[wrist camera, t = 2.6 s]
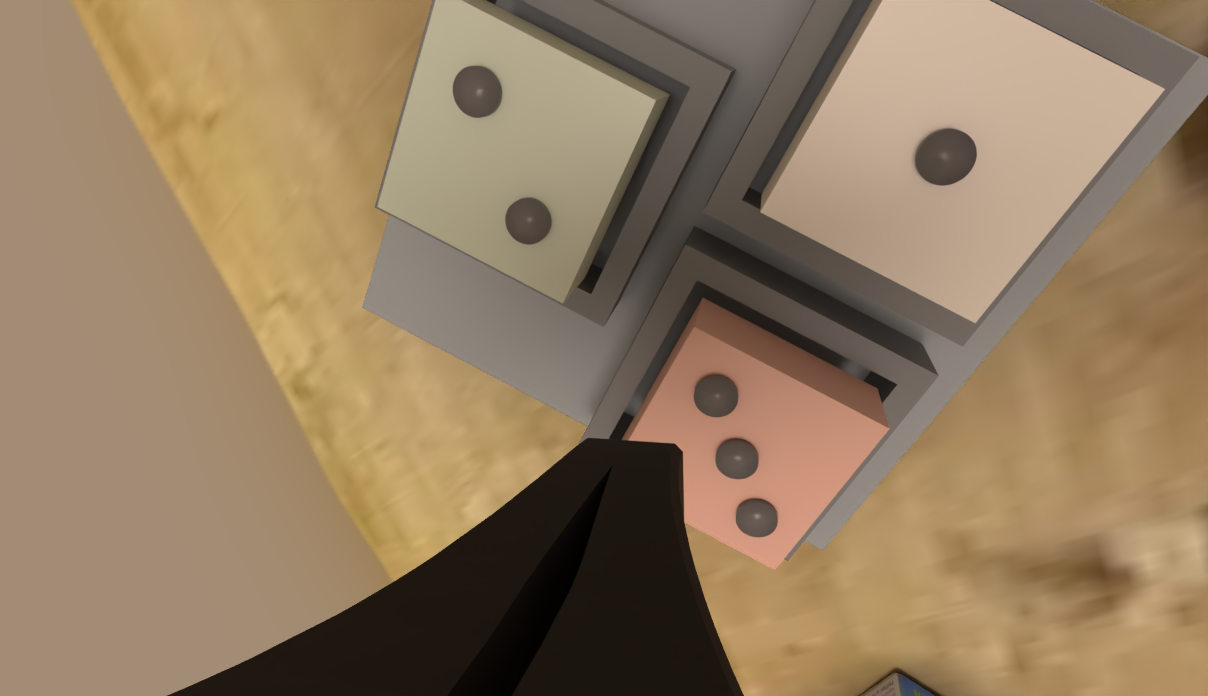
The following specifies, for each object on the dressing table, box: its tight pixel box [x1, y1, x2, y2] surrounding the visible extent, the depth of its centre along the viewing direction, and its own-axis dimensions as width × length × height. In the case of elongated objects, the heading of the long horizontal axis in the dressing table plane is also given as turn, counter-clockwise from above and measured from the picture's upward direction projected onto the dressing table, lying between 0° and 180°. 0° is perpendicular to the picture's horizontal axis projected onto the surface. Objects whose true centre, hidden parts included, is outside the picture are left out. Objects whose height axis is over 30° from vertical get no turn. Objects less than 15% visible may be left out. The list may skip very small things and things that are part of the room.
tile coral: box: [622, 298, 890, 570], centre depth 15 cm, size 4×4×2 cm
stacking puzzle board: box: [362, 0, 1208, 561], centre depth 16 cm, size 15×14×3 cm
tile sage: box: [377, 0, 670, 303], centre depth 14 cm, size 4×4×2 cm
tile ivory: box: [760, 0, 1165, 323], centre depth 12 cm, size 4×4×2 cm
